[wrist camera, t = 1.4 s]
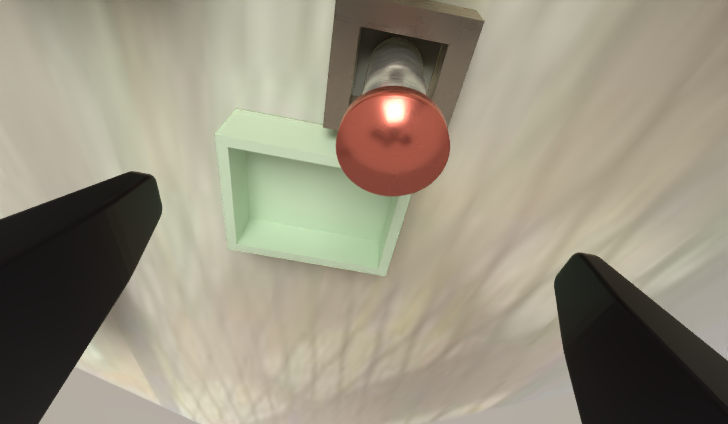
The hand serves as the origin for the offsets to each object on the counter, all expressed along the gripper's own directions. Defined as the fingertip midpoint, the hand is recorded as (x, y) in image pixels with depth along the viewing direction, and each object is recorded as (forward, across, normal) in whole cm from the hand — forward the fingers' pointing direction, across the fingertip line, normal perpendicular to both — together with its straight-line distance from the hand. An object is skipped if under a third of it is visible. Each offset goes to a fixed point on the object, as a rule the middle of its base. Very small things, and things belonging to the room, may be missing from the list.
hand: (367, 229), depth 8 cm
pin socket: (+13, -1, 0) cm, 13 cm away
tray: (+13, +2, +8) cm, 15 cm away
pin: (+13, -1, 0) cm, 13 cm away
